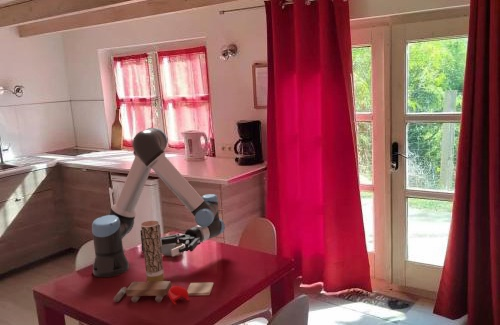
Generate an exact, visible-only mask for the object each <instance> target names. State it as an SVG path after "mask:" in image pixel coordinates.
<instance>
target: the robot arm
mask: <svg viewBox="0 0 500 325" xmlns="http://www.w3.org/2000/svg"><path fill="white" fill-rule="evenodd" d="M167 145H168V138H167V135H166V133H165V132H164V131H163V130H162V129H160V128H157V127H150V128H149V127H148V128H146V129H144V130H141V131H139V132H137V133H136V134H135V135H134V137H133V139H132V148H133V152H132V153H133V155H134V159H133V162H132V164H131V166H130V169H129V172H128V174H127V177H126V179H125V181H124V184H123V186H122V189H121V191H120V193H119V197H118V198H117V200H116V202H115V204H112V205H111V206H110V209H109V212H108V214H107V215H102V216H100V217H97V218H95V219H94V220H93V222H92V224H91V232H92V239H93V246H94V247H93V248H94V254H95V255H94V260H93V266H92V272H93V274H92V275H93V276H94V277H97V278H111V277H116V276H119V275H122V274H124V273H126V272H127V271H128V270H129V269H130V264H129V261H128V259H127V257H126V255H125V253H124V246H123V239H124V238H125V237H126V236H127V235H129V233H130V232H131V231H132V229H133V228H134V224H135V219H136V217H137V213H136V210H135V209H136V207H137V205H138V202H139V200H140V198H141V195H142V192H143V190H144V188H145V185H146V184H147V180H148V178H149V176H150V173H151V171H152V170H153V172H154V173H155V174H156V175H157V176H158V178H160V179H161V181H162V182H163V183H164V184H165V185H166V186H167V187H168V188H169V190H170V191H172V193H173V194H174V195H175V196H176V197H177V198H178V200H179V201H180V202H181V203H182V204H183V206H185V208H186V209H187V210H188V212H190V213H191V214H192V215H193V216H194V220H195V223H196V225H195V226H193V227H190V228H187V229H186V231H185V233H183V234H182V233H181V234H180V233H178V232H177V233H175V234H170V235H169V234H168V235H166V236H161V237H160V242H161V246H162V245H165V244H173V243H176V244H182V245H181V246H179V247H176V248H174V249H171V254H172V256H171V257H176V256H175V255H178V254H180V253H181V254H182V253H185V252H193V251H194V250H195V249H196V248H197V247H198V246H199V245H200V244H201V243H204V242H205V241H208V240H211V239H213V238H215V237H218V236H219V235H221V234H222V233H224V231H225V230H226V229H225V228H226V225H225V223H224V220H223V219H221V218H220V213H219V210H220V209H219V200H218V195H216V194H213V193H209V194H204V195H202V196H201V195H200V194H199V193H198V192H197V191H196V189H195V188H194V187H193V186H192V185H191V184H190V183H189V181H188V180H187V179H186V178H185V177H184V176H183V175H182V174H181V172H180V171H179V170H178V169H177V168H176V166H175V165H174V164H173V163H172V162H171V161H170V160H169V159H168V158H167V156H166V152H165V150H166V148H167ZM178 241H179V242H178ZM181 254H180V255H181Z"/></svg>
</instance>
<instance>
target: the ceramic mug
mask: <svg viewBox="0 0 500 325" xmlns="http://www.w3.org/2000/svg"><path fill="white" fill-rule="evenodd" d="M177 241H178V242H179V240H177ZM181 245H183V244H176V243H173V244H165V245H162V246H161V252H162V256H167V257H169V256H170V257H173V256H172V254H171V249H174V248H176V247H179V246H181ZM181 254H182V253H180V254H178V255H175V256H174V257H180V256H181Z"/></svg>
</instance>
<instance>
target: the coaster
mask: <svg viewBox="0 0 500 325" xmlns="http://www.w3.org/2000/svg"><path fill="white" fill-rule="evenodd" d="M213 286H214V282H212V281H211V282H190V284H189V285H188V288H187V289H186V290H187V291H188V296H189V297H190V296H210V294H211V292H212V289H213Z"/></svg>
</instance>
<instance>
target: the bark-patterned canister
mask: <svg viewBox="0 0 500 325" xmlns="http://www.w3.org/2000/svg"><path fill="white" fill-rule="evenodd" d="M159 225H160V224H159V221H158V220H147V221H144V222H141V224H140V226H141V227H140V229H141V230H142V238H143V248H144V251H143V256H144V264H145V276H146V282H153V281H165V277H164V276H165V275H164V265H163V264H164V263H163V255H162V252H161V242H160V232H159Z"/></svg>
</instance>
